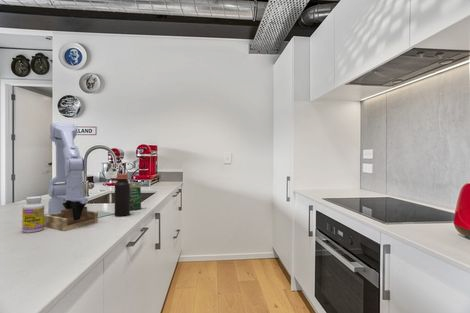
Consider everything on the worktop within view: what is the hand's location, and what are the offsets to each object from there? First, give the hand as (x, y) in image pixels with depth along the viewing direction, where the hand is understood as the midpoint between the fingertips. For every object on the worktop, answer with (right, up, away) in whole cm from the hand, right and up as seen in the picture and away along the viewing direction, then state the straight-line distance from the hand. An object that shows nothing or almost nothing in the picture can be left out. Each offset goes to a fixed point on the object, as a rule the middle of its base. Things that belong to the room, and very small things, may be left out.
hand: (74, 219), depth 107 cm
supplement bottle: (-11, -3, -8) cm, 14 cm away
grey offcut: (-8, -1, +4) cm, 9 cm away
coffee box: (+12, -3, +30) cm, 33 cm away
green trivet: (0, -2, +17) cm, 18 cm away
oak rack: (-3, -2, +2) cm, 4 cm away
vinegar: (+12, -3, +18) cm, 22 cm away
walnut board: (0, -2, 0) cm, 2 cm away
